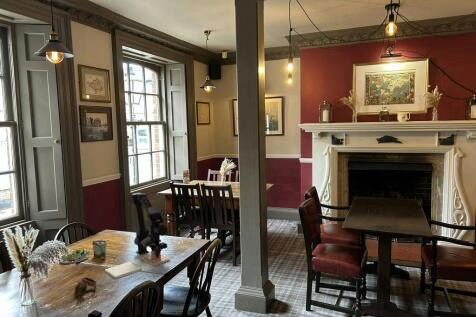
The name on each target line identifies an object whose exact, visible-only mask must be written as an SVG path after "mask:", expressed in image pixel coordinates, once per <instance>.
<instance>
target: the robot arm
mask: <svg viewBox="0 0 476 317" xmlns="http://www.w3.org/2000/svg"><path fill="white" fill-rule="evenodd" d="M147 195H148V194H147V193H144V192H143V193H142V192H136V193H131V194H130V195H129V201H130V205H131V206H132V207H133V208H134V213H135V215H134V216H135V220H136V226H137V230H136V233H135V237H134V240H133V242H134V245H136V246H137V251H135V253H136V254H138V255H144V254H147V253H150V251H152V250H155V252H156V257H157V258H158V257H159V255H160V252H162V250H164V249H168V244H167V243H166V242H165V241H162V239H161V237H162V236H165V235H166V234H167V233H168V228H167V227H166V226H165V225H164V224H165V223H164V218H163V216H162V214H161V213H160V211H159V210H158V209H157V208H156V207H155V208H154V206H153V205H152V203H151V201H150V200H149V197H148V196H147ZM143 208H144V211H145V212H146V219H147V220H148V225H149V229H147V227H146V224H145V219H144V218H145V217H144V211H143ZM148 247H149V248H150V249H151V250H150V251H149V250H148Z"/></svg>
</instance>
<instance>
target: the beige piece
mask: <svg viewBox="0 0 476 317" xmlns="http://www.w3.org/2000/svg"><path fill="white" fill-rule="evenodd" d="M161 252H162V251H161ZM161 252H160V255H159V257H158V258H157V257H156V252H155V250H150V255H148V256H143V257H141V261H142V260H143V261H144V262H145V263H148V264H150V265H152V266H153V267H155V266H158V265H161V264H164V263H167V262H170V261H171V258H170V257H167V256H165V255H163V254H162V253H161Z"/></svg>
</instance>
